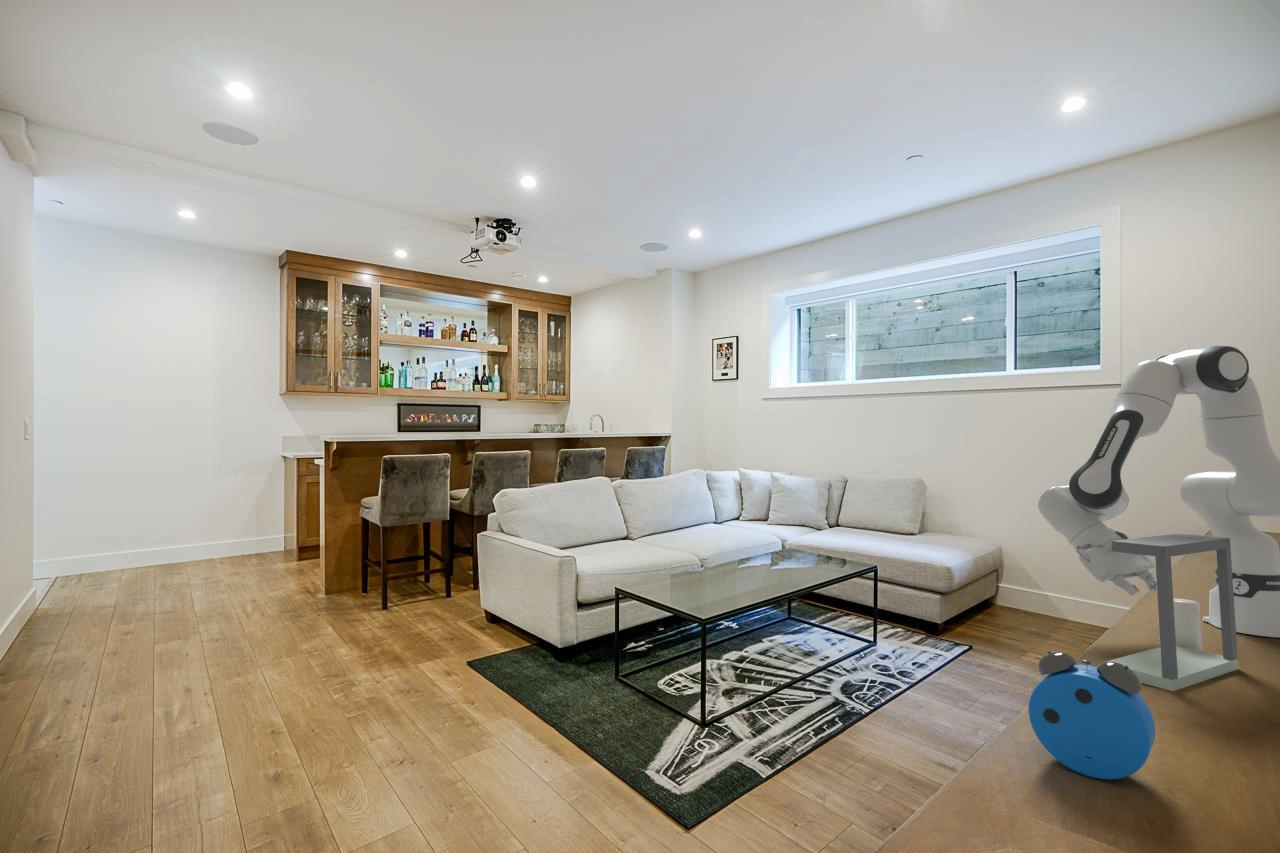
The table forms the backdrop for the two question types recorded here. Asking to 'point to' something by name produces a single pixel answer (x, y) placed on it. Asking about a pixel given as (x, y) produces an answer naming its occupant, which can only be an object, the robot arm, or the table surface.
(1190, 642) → the white cylinder
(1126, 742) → the alarm clock
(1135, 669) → the grey frame
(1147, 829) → the table surface
